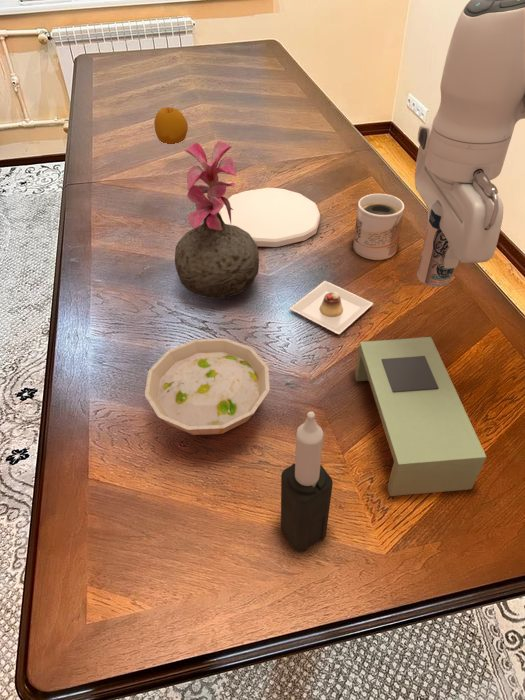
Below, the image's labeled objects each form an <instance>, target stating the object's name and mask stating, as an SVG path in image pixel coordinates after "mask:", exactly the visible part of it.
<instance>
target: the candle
mask: <svg viewBox="0 0 525 700" xmlns="http://www.w3.org/2000/svg"><path fill="white" fill-rule="evenodd" d="M315 418H316V413H315V412H314V411H309V412H307V414H306V420H305V421H304V422H303V423H302V424H300V425H299V426H298V427H297V430H296V434H295V435H296V437H295V460H294V463H292V464H291V465H290V466H288V467H286V468H284V469H283V471H282V472H281V476H280V530H281V533H283V535H284V536H285V538H286V540H287V541H288V543H290V545H291V547H292V548H293V549H294V550H295V551H296V552H299V553H303V552H306V551H307V550H308V548H310V547H311V546H313V545H315V544H317V542H319V541H323V540H325V538H326V535H327V530H328V524H329V523H328V522H329V516H330V508H331V499H332V492H333V483H334V482H333V479H332V477H331V476H330V474H329V473H328V472H327V471H326V469H325V468H324V466H323V465H322V455H323V454H322V453H323V442H324V431H323V428H322V427H321V426H320V425H319V424H318V423H317V421H316V419H315Z"/></svg>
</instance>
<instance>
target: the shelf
mask: <svg viewBox="0 0 525 700" xmlns="http://www.w3.org/2000/svg"><path fill="white" fill-rule="evenodd" d="M357 351H358V352H357V359H356V365H355V373H354V376H355V381H356V382H365V381H368V382H369V385H370V388H371V392H372V395H373V398H374V401H375V405H376V408H377V410H378V414H379V418H380V421H381V424H382V427H383V430H384V434H385V437H386V440H387V443H388V447H389V449H390V453H391V456H392V460H393V465H392V468H391V472H390V476H389V479H388V484H387V487H386V488H387V491H388V495H389V497H397V496H410V495H419V494H420V495H421V494H432V493H441V492H442V493H443V492H456V491H467V490H468V491H469V490H472V489H473V487H474V485H475V483H476V481H477V479H478V476H479V474H480V472H481V470H482V468H483V466H484V464H485V462H486V460H487V455H486V453H485V450H484V448H483V447H482V444H481V442H480V439H479V437H478V435H477V433H476V431H475V429H474V427H473V425H472V424H473V423H471V420H470V417H469V416H468V413H467V411H466V409H465V407H464V404H463V403H462V401H461V398H460V396H459V394H458V392H457V389H456V388H455V385H454V384H453V381H452V379H451V376H450V374H449V372H448V370H447V368H446V366H445V364H444V361H443V360H442V357H441V355H440V353H439V351H438V349H437V346H436V345H435V342H434V340H433V338H432V337H431V336H424V337H409V338H397V339H396V338H395V339H382V340H367V341H359V345H358V350H357Z"/></svg>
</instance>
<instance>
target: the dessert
mask: <svg viewBox="0 0 525 700" xmlns="http://www.w3.org/2000/svg"><path fill="white" fill-rule="evenodd" d="M372 306H374V302H372V301H370V300H367V299H365V298H363V297H361V296H359V295H357V294H354V293H352V292H351V291H349V290H346V289H344V288H342V287H340V286H338V285H336V284H333V283H332V282H329V281H327V280H323V281H322V282H321V283H320V284H318V285H317V286H316V287H314V288H313V289H312V290H311V291H309V292H308V293H307V294H305V295H304V296H303V297H301V298H300V299H299V300H298V301H296V302H295V303H294V304H293V305H291V306H290V307H289V310H290V311H292V312H294V313H296V314H298V315H300V316H302V317H304V318H306V319H308V320H309V321H312V322H313V323H315V324H318V325H319V326H321V327H323V328H325V329H327V330H329V331H331V332H332V333H335V334H337V335H341V334H342V333H343V332H344V331H345V330H346V329H348V327H349V326H351V325H352V324H353V323H354V322H355V321H356V320H358V319H359V318H360V317H361V316H362V315H363V314H364V313H365V312H366V311H368V309H370V308H371V307H372Z"/></svg>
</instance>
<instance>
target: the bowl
mask: <svg viewBox="0 0 525 700" xmlns="http://www.w3.org/2000/svg"><path fill="white" fill-rule="evenodd" d="M270 391H271V386H270V370H269V364H267V363H266V362H265V360H264V359H262V358H261V356H260V355H259V354H258V352H256V350H254V348H253V347H251V346H248V345H246V344H243V343H240V342H237V341H235V340H231V339H228V338H225V337H224V338H220V337H219V338H197V339H196V338H195V339H193V340H191V341H187V342H185V343H183V344H180V345H178V346H176V347H173V348H170V349H168V350H166V352H165V353H164V354H163V355H162V356H161V357H160V358H159V359H158V360H157V361H156V362H155V363H154V364H153V365H152V366H151V368H149V370H148V371H147V377H146V384H145V390H144V397H145V398H146V400H147V401H148V403H149V404H150V407H151V408H152V409H153V411H154V413H155V414H156V416H157V418H159V419H160V420H162V421H164V422H165V423H166V424H167V425H170V426H172V427H174V428H177V429H179V430H181V431H184V432H186V433H188V434H189V435H192V436H197V435H198V436H200V435H207V436H208V435H219V434H220V435H222V434H224V433H227V432H228V431H230V430H232V429H234V428H237V427H238V426H240V425H242V424H244V423H247V422H248V421H249V420H250V419H251V417H253V415H254V414H255V412H256V411H257V410H258V408H259V407H260V405H261V403H262V402H263V401H264V399H265V398H266V396H267V395H268V393H269V392H270Z"/></svg>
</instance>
